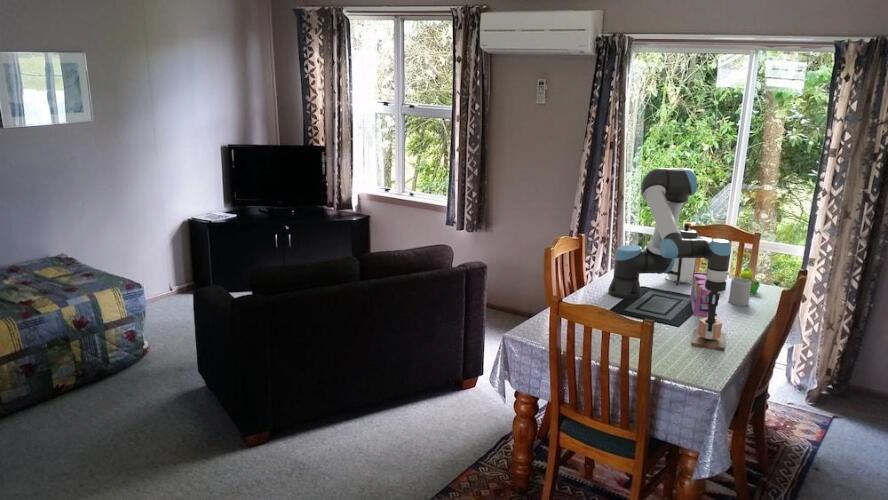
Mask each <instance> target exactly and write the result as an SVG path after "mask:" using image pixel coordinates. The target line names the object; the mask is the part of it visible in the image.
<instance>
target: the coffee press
mask: <svg viewBox="0 0 888 500" xmlns="http://www.w3.org/2000/svg"><path fill="white" fill-rule="evenodd" d="M678 228H679V230H680V233H681V235H682V237H683V239H697V238H699V237H701V236H700V235H699V232H698V231H697V230H696V229H693V228H690V225H689V224H688V223H686V224H684V227H678ZM674 260H675V263H674V266H673V268H672V270H671V271H670V272H668V273H664V274H665V275H667V276H668V278H667V277H665V278H664V279H665V281H668V280H671V281H674V282H675V286H678V287H679V286H680V283H691V284H692V279H693V273H694V272H695V273H696V266H697V265H696V264H697V258H675V259H674Z"/></svg>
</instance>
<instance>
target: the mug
mask: <svg viewBox="0 0 888 500" xmlns="http://www.w3.org/2000/svg"><path fill="white" fill-rule="evenodd" d="M729 289H730V290H729V297H728V303H729V304H731V305H734V306H739V307H746V306H748V305H749V303H750V294H751V293H750V289H751V281H750V280H748V279H745V278H741V277H733V278H731V281H730V288H729Z"/></svg>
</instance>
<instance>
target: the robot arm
mask: <svg viewBox="0 0 888 500" xmlns="http://www.w3.org/2000/svg"><path fill="white" fill-rule="evenodd" d="M697 179H698V178H697V176H696V174H695V172H694V170H693V169H691V168H684V167H680V168H679V167H675V168H673V167H666V168H665V167H656V168H654V169H652V170H650V171H649V172H647V173H646V174H645V175H644V177H643V178H642V181H641V184H640V193H641V195H642V198H643V200H644V202H645V201H646V203H647V205H648V207H649V209H650V212H651V214H652V217H653V220H654V222H655V228H654V232H653V235H652V238H651V241H649V242H647V243H646V247H645V248H643V247H642V246H640V245H637V244H625V245H621V246H619V247H618V248H617V249H616V250H615V256H614V267H613V268H614V269H613V277H612V280H611V282H610V285H609V287H608V291H607V294H608V295H609V296H611V297H612V298H616V299H622V300H637V299H640V298H641V297H642V288H641V284H640V274H642V275H643V274H657V275H660V274H665V273H668V272H670V271H671V270H672V268H673V266H674V263H675V260H674V259H675V258H696V259H705V260H706V261H707V267H706V272H705V273H706V278H707V279H706V281H705V288H706V289H707V290H711V292H709V297H708V298H709V303H708V305H709V310H708V311H709V312H708V317H707V318H708V320H707V321H705V323H707V326H706V333H705V338H707V339H712V338H713V330H714V323H715V321H714V320H715V319H716V317H718V313H717V307H718V305H719V300H720V297H721V295H720V294H721V292H725V291H726V288H727V282H728V281H727V280H728V276H730V272H729V267H730V260H731V254H732V243H731V241H729V240H727V239H723V238H713V239H712V238H709V237H707V236H700V237H699V238H697V239H683V237H682V235H681V233H680V230H679V228H680V227H679V225H678V221H679V218H680V214H681V211H682V208H683V204H685V203H687V202H688V200H689V196H694V195H696V193H697V191H698V180H697Z"/></svg>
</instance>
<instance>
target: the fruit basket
mask: <svg viewBox="0 0 888 500" xmlns="http://www.w3.org/2000/svg"><path fill="white" fill-rule="evenodd" d="M753 277H754V275H753V271H752V269H751V268H749V267H744V269H743V271H742V272H741V273H740V278H745V279H748V280H750V281H751V289H750V294H751V295H756V294H757V292H758V290H759V288H760V286H761V284H760V281H759V280H754V279H753Z"/></svg>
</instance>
